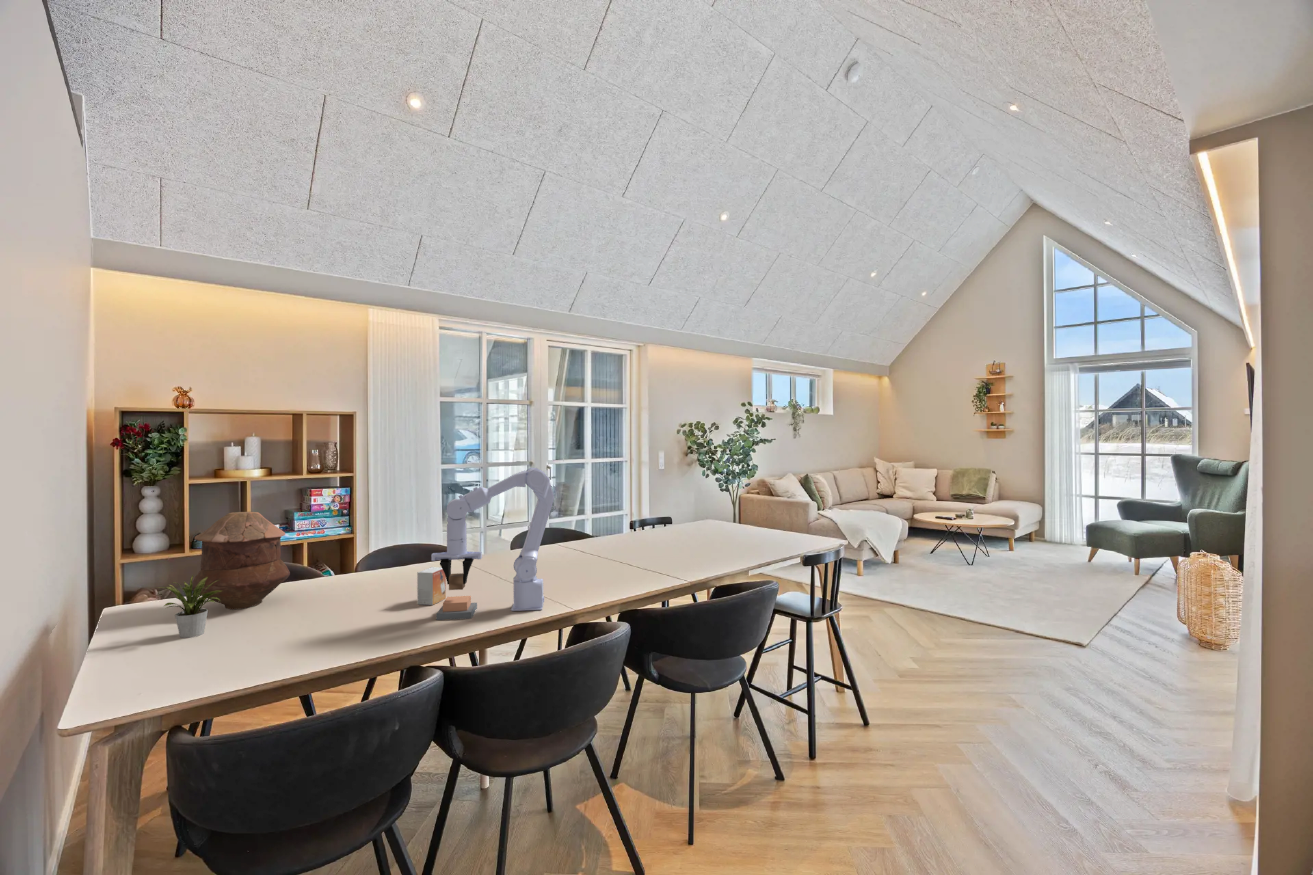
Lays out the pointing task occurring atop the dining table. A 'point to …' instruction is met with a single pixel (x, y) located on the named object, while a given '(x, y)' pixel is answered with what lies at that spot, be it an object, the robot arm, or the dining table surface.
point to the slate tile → (457, 613)
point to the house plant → (192, 609)
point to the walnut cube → (456, 581)
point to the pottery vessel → (241, 559)
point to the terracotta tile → (457, 603)
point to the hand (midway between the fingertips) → (457, 583)
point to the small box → (431, 586)
